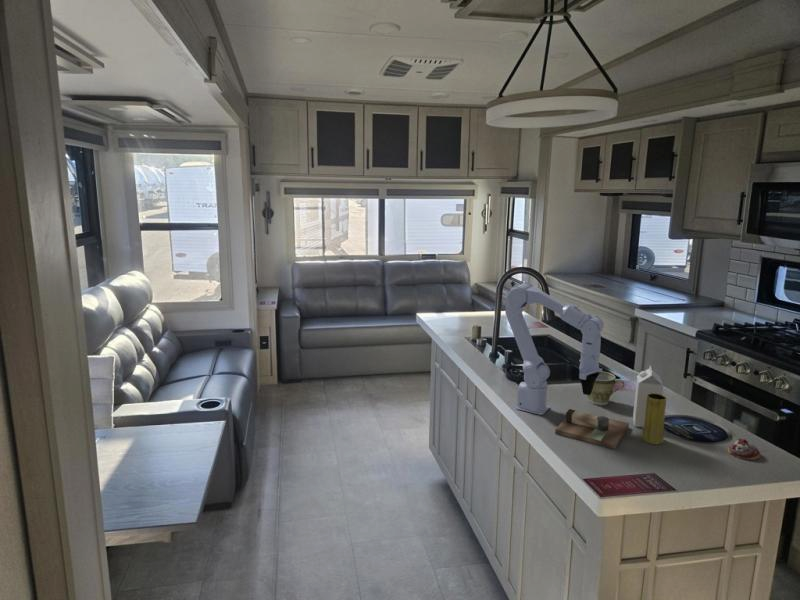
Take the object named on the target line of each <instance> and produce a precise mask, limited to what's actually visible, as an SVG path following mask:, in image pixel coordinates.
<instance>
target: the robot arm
mask: <svg viewBox="0 0 800 600" xmlns="http://www.w3.org/2000/svg"><path fill="white" fill-rule="evenodd" d="M505 299H506V304H505V316H506V318H507V321H508V324H509V327H510V330H511V331H512V334H513V337H514V339H515V341H516V345H517V347H518V351H519V353H520V356H521V358H522V360H523V364H522V371H523V380H524V381H521V382H520V383H519V384H518V389H517V402H516V408H515V409H517V410H520V411H524V412H528V413H532V414H537V415H540V416H543V415H545V413H546V412H548V410H549V409H550V408H551V406H550V405H547V398H548V394H547V393H548V382H547V379H549V377H550V376H551V375H550V374H551V369H550V368H549V366H548V365H547V364H546V362H545V361H544V359H543V358H542V357H541V356H540V355H539V354H538V351H537V348H536V346H535V343H534V340H533V338H532V334H531V333H530V332H531V331H530V330H529V327H528V325H527V322H526V319H525V317H524V314H523V312H524V310H525V307H526V306H527V305H530V304H539V305H541V306H542V307H545V308H547V309H548V310H551V311H553V312H554V313H556V314H559V316H560V318H561V321H563V322H565V323H567V324H568V325H570V326H572V327H573V328H576V329H577V330H580V332H581V334H582V340H581V350H580V361H579V372H578V373H577V377H578V379H579V380H580V384H581V390H582V393H583V395H587V396H588V395H590V394H591V393H592V390H593V386H594V383H595V381H596V379H597V377H598V375H599V372H602V371H603V368H601V367H600V358H601V357H600V356H601V355H600V354H601V342H602V341H601V338H602V333H601V332H602V331H603V329H604V321H603V319H601V318H600V317H599V316H598V315H592V314H591V313H588V312H585V311H584V310H581V309H579V306H578V305H577V304H567V305H566V304H563V303H562V302H560V301H558V300H557V299H556V298H554V297H552V296H551V295H549V294H548V293H546V292H544V291H543V290H541V289H540V288H539V287H538V286H535V285H532V284H531V283H529V282H523V283H520V284H519V285H516V286H514V287H512V288H510V290H508V293H507V294H506V296H505Z"/></svg>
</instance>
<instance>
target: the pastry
mask: <svg viewBox="0 0 800 600" xmlns="http://www.w3.org/2000/svg"><path fill="white" fill-rule="evenodd" d="M727 452H728V454H729V455H731V456H733V457H734V458H737V459H738V460H739V459H740V460H744V461H749V462H751V461H759V460H760V458H761V452H760V450H759V449H758V448H757V447H756V446H755V445H754V444H752V443H750V442H749V441H748V440H747V439H744V438H741V437H739V438H738V440H735V442H733V443H732V444H730V445H729V446H728V448H727Z"/></svg>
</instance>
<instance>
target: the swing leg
mask: <svg viewBox="0 0 800 600" xmlns="http://www.w3.org/2000/svg"><path fill="white" fill-rule="evenodd" d="M586 413H587V412H583V413H582V411H579V412H578V411H577V410H575V409H571V408H569V409H568V410H567V411H566V412H565V418H566V422H570V423H574V424H578V425H582V426H587V427H591V428H595V429H598V430H601V431H607V430H608V426H609V419H610V418H609V417H606V416H604V415H603V416H600V415H596V416H595V414H592V415H591V413H587V414H586ZM608 418H609V419H608Z"/></svg>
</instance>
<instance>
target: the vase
mask: <svg viewBox="0 0 800 600" xmlns="http://www.w3.org/2000/svg"><path fill="white" fill-rule="evenodd" d="M666 404H667V397H666V396H665V395H664V394H662V395H661V394H657V393H650V394H648V395H647V403H646V410H645V418H644V425H643V427H642V435H641V440H642V441H644V442H645V443H647V444H651V445H661V444H663V443H664V432H665V417H666V416H665V415H666V409H667V408H666V406H667V405H666Z"/></svg>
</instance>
